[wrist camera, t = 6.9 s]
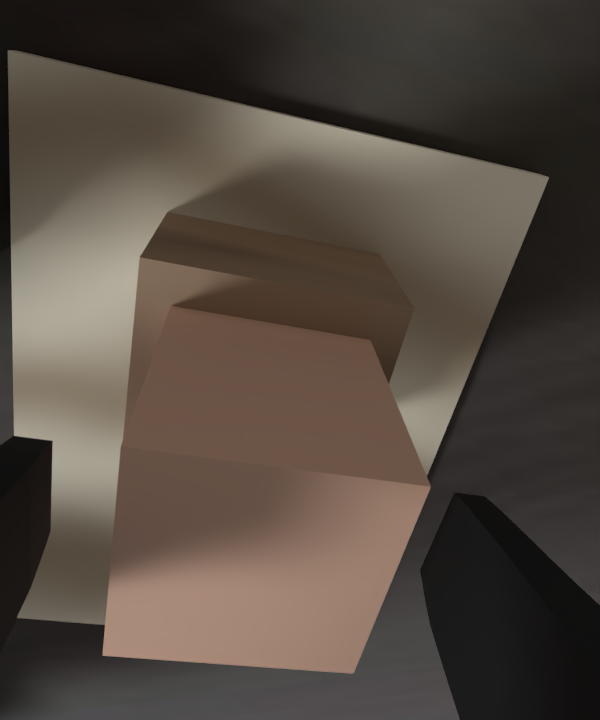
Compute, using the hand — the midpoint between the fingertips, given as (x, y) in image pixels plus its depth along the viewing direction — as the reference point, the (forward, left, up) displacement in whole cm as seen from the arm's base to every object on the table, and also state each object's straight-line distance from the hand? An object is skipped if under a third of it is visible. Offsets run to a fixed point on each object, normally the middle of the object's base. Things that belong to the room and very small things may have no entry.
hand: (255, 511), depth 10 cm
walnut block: (0, 0, -8) cm, 8 cm away
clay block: (0, 0, -4) cm, 4 cm away
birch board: (-4, 0, -8) cm, 9 cm away
